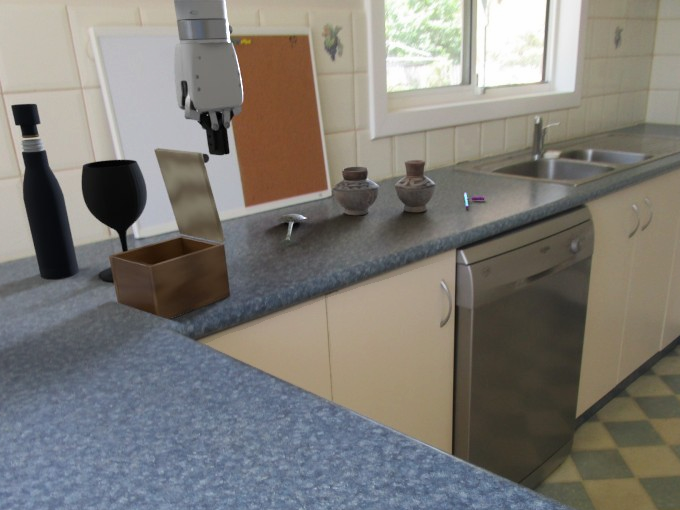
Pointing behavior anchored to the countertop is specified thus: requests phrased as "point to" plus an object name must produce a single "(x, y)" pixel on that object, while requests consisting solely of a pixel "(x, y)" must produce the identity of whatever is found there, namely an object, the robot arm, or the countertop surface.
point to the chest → (171, 276)
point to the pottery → (363, 192)
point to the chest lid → (190, 193)
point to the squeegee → (472, 199)
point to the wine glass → (114, 197)
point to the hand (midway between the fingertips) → (219, 153)
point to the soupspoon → (290, 225)
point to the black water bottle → (44, 202)
